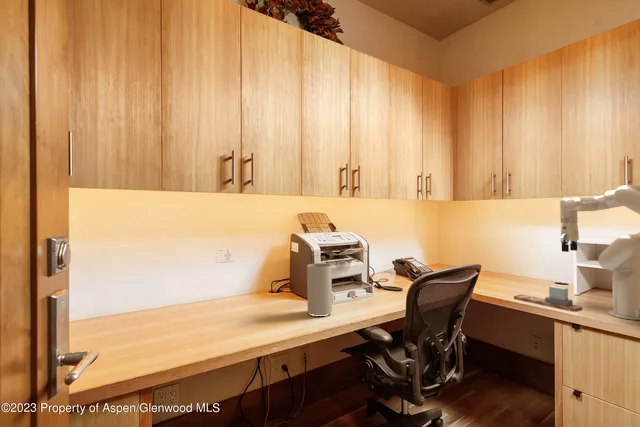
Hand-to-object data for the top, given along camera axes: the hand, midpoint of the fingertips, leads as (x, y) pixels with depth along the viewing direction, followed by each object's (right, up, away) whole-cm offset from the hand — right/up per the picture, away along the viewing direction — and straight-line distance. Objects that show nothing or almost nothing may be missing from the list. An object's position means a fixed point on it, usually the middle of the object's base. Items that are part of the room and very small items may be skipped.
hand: (569, 251), depth 179 cm
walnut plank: (-16, -29, -4) cm, 33 cm away
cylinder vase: (-140, -31, -15) cm, 144 cm away
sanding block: (-13, -27, -9) cm, 31 cm away
